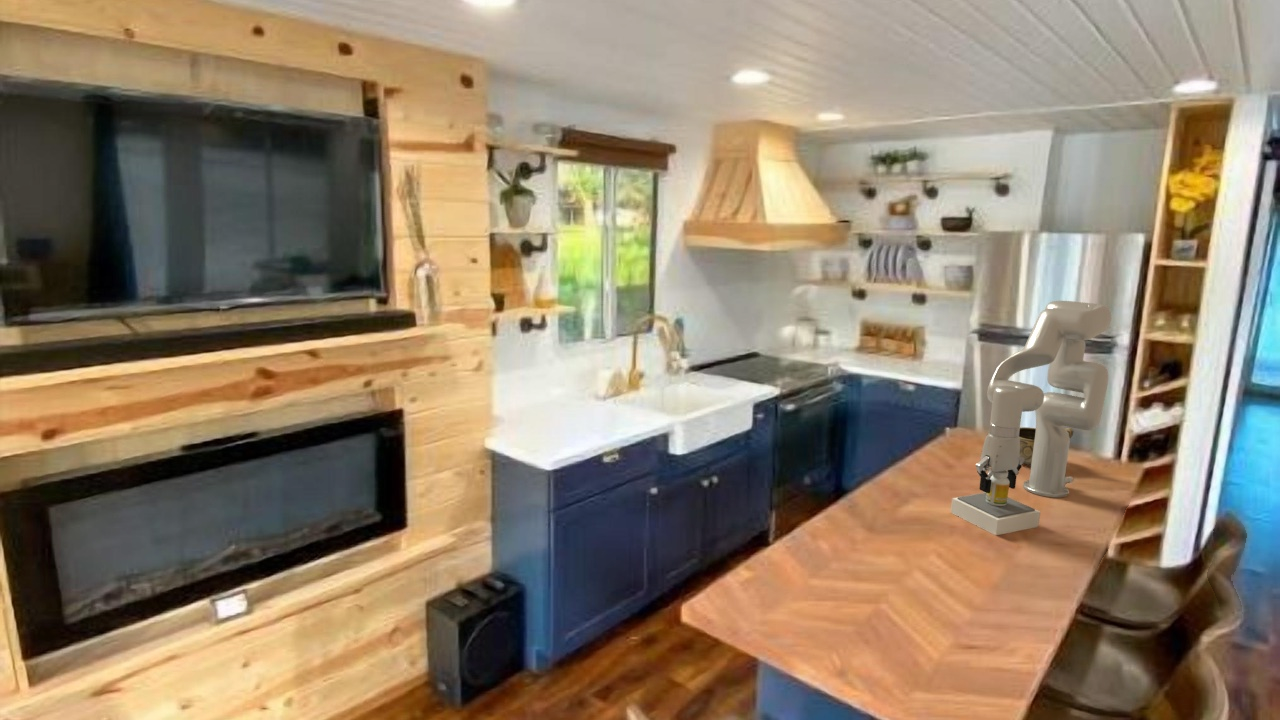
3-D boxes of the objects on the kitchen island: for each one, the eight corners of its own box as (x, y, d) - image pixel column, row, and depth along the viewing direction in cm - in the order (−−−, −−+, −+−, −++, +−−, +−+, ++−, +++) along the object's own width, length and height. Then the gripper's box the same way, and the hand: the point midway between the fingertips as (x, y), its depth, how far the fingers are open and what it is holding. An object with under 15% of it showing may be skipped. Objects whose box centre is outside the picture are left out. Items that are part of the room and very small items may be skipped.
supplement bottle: (982, 502, 203) (986, 470, 201) (991, 497, 207) (995, 466, 205) (1001, 508, 199) (1005, 475, 197) (1010, 503, 202) (1014, 471, 200)
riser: (991, 505, 214) (993, 489, 213) (1038, 526, 199) (1040, 509, 198) (950, 512, 208) (952, 496, 207) (995, 535, 194) (997, 518, 193)
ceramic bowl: (1075, 466, 248) (1081, 425, 245) (1057, 478, 237) (1063, 434, 234) (1008, 450, 265) (1013, 411, 262) (988, 460, 254) (993, 419, 251)
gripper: (1015, 424, 205) (1008, 480, 208) (969, 430, 199) (963, 488, 202) (1038, 431, 198) (1031, 490, 202) (991, 437, 192) (984, 498, 195)
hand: (997, 489), depth 202 cm, fingers open, 9 cm apart
